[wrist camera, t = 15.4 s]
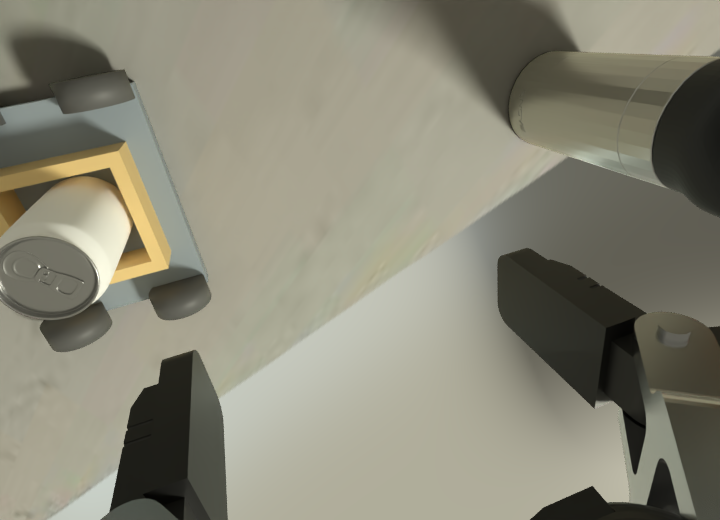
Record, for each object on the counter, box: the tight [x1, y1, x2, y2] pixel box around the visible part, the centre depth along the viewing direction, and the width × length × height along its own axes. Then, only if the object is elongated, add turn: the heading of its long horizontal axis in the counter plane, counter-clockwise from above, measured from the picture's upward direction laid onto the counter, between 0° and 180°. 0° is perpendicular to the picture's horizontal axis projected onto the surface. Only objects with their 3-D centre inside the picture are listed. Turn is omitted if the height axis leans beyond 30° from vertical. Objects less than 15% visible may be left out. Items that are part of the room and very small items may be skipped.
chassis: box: [0, 70, 211, 352], centre depth 36 cm, size 14×20×5 cm
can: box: [0, 176, 133, 320], centre depth 32 cm, size 6×6×12 cm
